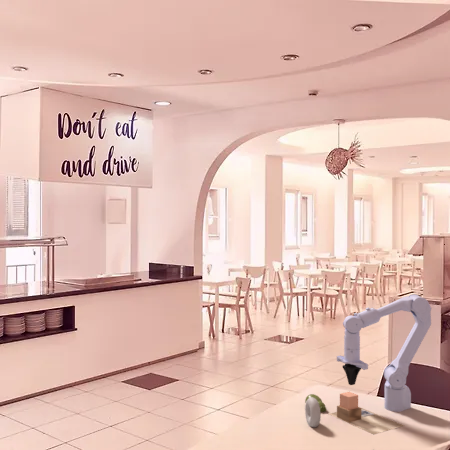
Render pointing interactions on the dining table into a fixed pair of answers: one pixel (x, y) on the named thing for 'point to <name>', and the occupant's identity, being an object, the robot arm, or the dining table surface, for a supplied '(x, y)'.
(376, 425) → the build board
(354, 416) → the base block
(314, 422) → the donut
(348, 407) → the top block
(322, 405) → the pear
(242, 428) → the dining table surface
